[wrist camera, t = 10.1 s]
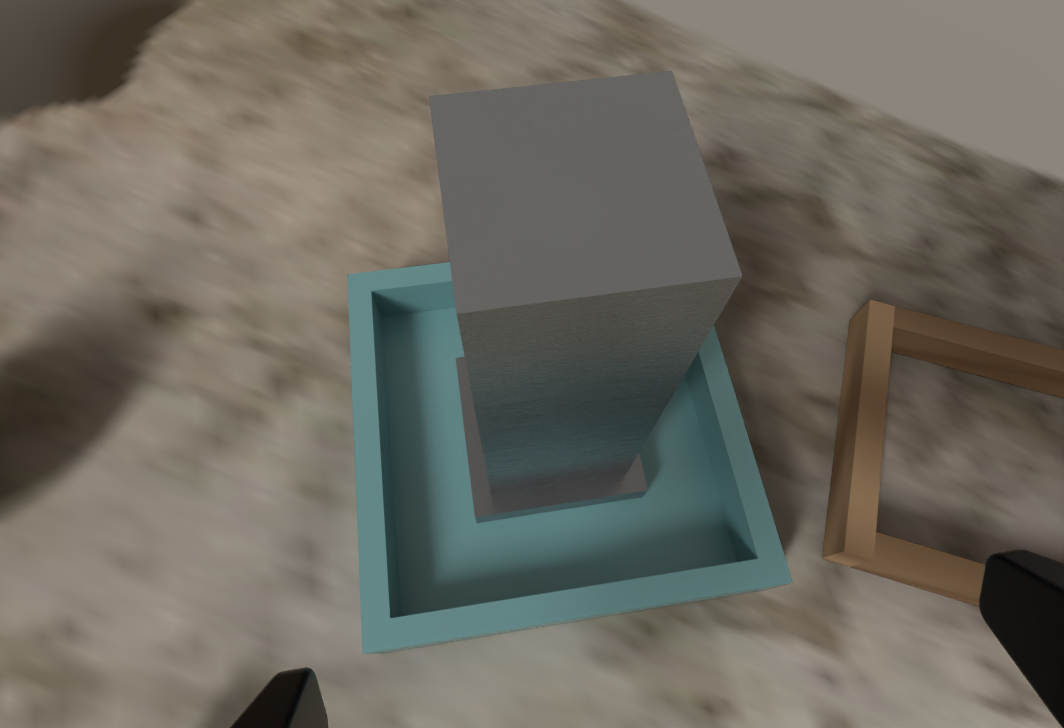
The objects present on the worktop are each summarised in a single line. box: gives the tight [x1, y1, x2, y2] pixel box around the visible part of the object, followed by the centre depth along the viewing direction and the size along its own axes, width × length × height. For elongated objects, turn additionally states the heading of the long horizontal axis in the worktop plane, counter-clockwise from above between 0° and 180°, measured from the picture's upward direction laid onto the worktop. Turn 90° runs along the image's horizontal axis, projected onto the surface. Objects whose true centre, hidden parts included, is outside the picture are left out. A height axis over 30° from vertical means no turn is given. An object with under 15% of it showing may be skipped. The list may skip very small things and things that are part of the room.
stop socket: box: [822, 300, 1064, 606], centre depth 22 cm, size 9×9×2 cm
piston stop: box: [429, 71, 743, 523], centre depth 16 cm, size 6×6×13 cm
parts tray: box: [347, 262, 793, 654], centre depth 22 cm, size 12×12×2 cm
